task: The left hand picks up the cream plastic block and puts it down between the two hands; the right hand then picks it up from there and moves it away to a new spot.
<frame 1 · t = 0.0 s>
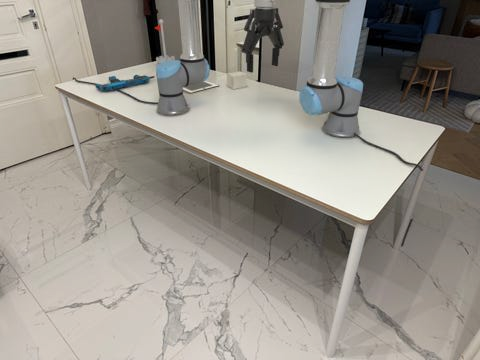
left hand: (262, 68, 132), 28 cm above the table, tool pointing down, fingers open, 13 cm apart
right hand: (263, 45, 167), 28 cm above the table, tool pointing down, fingers open, 13 cm apart
tablet: (189, 83, 207), on the table
submachine gun: (124, 83, 207), on the table
flag stand: (166, 65, 242), on the table
block: (237, 86, 203), on the table
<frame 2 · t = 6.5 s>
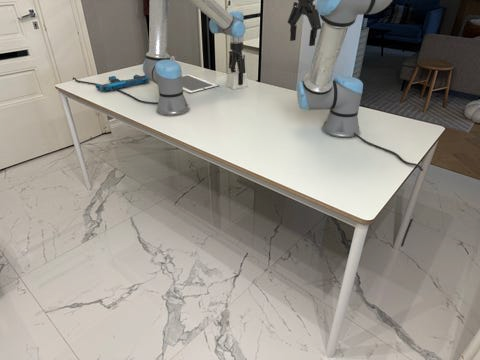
left hand: (236, 82, 201), 2 cm above the table, tool pointing down, fingers closed on block, 7 cm apart
right hand: (302, 43, 157), 31 cm above the table, tool pointing down, fingers open, 13 cm apart
block: (236, 86, 203), on the table, touching left hand
everything else where it was.
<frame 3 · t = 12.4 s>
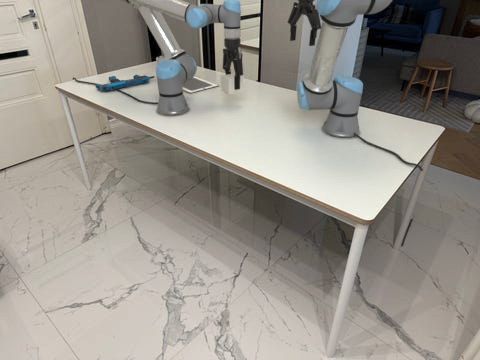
left hand: (232, 86, 168), 11 cm above the table, tool pointing down, fingers closed on block, 7 cm apart
right hand: (302, 43, 157), 31 cm above the table, tool pointing down, fingers open, 13 cm apart
block: (232, 90, 169), point 9 cm above the table, touching left hand
everything else where it was.
when the left hand's fingers open (3 cm above the table, at t = 18.1 s): block drops 1 cm, on the table.
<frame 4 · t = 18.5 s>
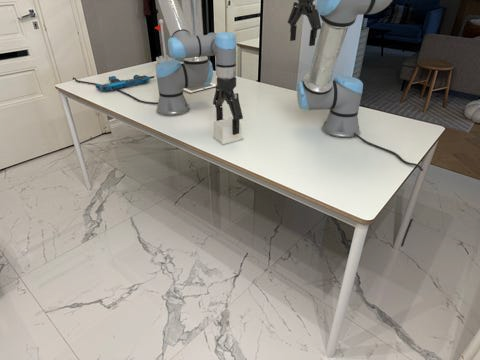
left hand: (227, 128, 141), 5 cm above the table, tool pointing down, fingers open, 13 cm apart
right hand: (302, 43, 157), 31 cm above the table, tool pointing down, fingers open, 13 cm apart
block: (228, 138, 144), on the table
everything else where it was.
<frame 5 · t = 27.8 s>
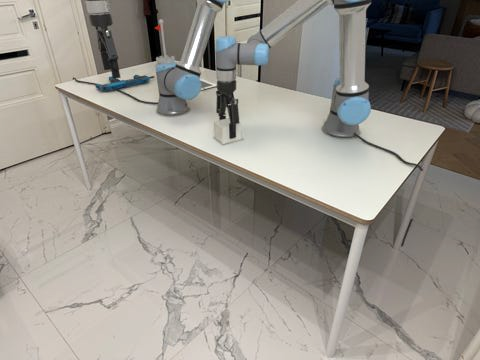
left hand: (112, 73, 132), 26 cm above the table, tool pointing down, fingers open, 13 cm apart
right hand: (227, 134, 142), 2 cm above the table, tool pointing down, fingers closed on block, 7 cm apart
block: (228, 138, 144), on the table, touching right hand
everything else where it was.
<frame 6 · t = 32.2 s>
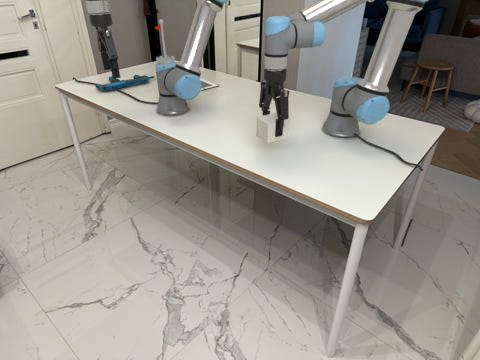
left hand: (112, 73, 132), 26 cm above the table, tool pointing down, fingers open, 13 cm apart
right hand: (272, 131, 124), 11 cm above the table, tool pointing down, fingers closed on block, 7 cm apart
block: (272, 136, 126), point 9 cm above the table, touching right hand
everything else where it was.
when the right hand's fingers open (3 cm above the table, at t = 37.0 s): block drops 1 cm, on the table.
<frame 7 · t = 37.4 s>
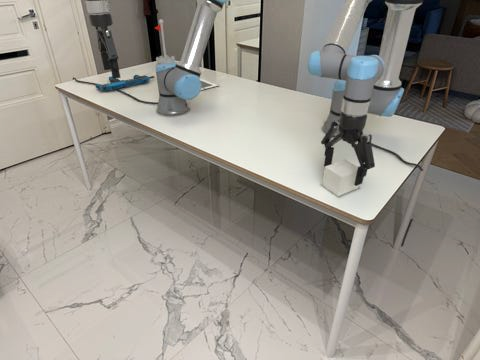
left hand: (112, 73, 132), 26 cm above the table, tool pointing down, fingers open, 13 cm apart
right hand: (342, 174, 110), 5 cm above the table, tool pointing down, fingers open, 13 cm apart
block: (340, 186, 113), on the table
everything else where it was.
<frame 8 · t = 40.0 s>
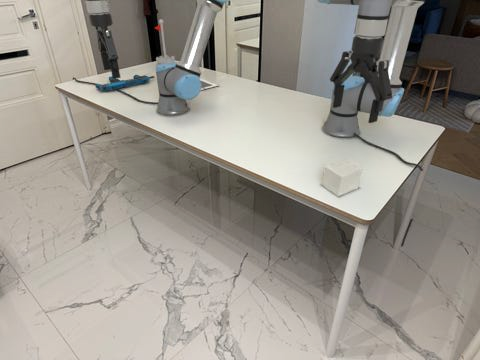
left hand: (112, 73, 132), 26 cm above the table, tool pointing down, fingers open, 13 cm apart
right hand: (353, 114, 99), 26 cm above the table, tool pointing down, fingers open, 13 cm apart
nothing on the table moved.
at the end: block inside the target area (0.0 cm from its centre), on the table; block tilted 0°; the two hands never held the block at the same time; the left hand is holding nothing; the right hand is holding nothing; block at rest at the end (0.0 cm/s) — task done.
